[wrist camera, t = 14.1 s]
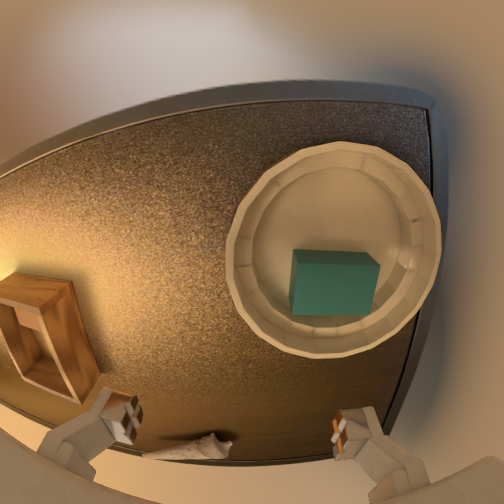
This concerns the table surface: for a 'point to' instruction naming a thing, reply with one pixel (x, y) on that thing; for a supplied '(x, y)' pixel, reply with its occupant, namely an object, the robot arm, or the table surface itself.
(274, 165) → the bowl
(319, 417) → the table surface
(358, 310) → the teal rectangular block
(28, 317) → the tan rectangular block
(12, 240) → the table surface
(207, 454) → the seashell
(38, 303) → the holder
